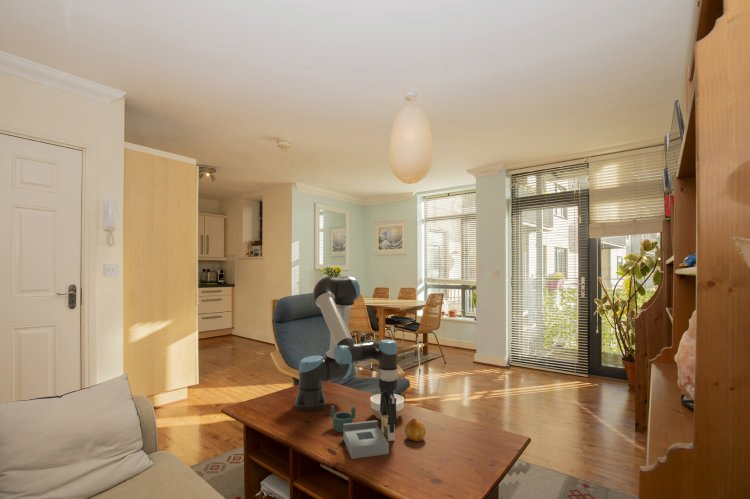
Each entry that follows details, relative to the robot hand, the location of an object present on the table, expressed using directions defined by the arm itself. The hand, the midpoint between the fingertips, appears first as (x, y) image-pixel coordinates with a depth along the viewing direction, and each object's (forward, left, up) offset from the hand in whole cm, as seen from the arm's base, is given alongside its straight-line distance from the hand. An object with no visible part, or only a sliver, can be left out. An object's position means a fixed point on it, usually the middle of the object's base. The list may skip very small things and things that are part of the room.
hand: (387, 435), depth 153 cm
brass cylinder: (0, 0, 0) cm, 0 cm away
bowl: (-20, +6, -1) cm, 21 cm away
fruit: (+5, +10, -1) cm, 11 cm away
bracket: (-13, -16, -1) cm, 21 cm away
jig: (+6, -11, 0) cm, 13 cm away
